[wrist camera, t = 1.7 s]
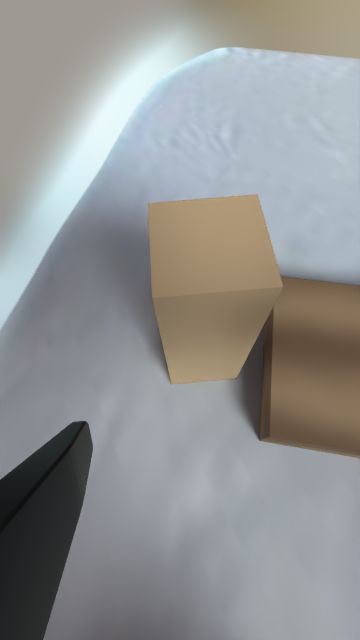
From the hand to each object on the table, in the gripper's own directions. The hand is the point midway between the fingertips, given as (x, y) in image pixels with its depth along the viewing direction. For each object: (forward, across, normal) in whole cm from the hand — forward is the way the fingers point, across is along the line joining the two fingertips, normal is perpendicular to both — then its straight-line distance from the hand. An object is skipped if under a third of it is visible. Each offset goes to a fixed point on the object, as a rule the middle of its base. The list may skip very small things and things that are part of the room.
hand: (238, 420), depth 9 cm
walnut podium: (+13, -11, +6) cm, 18 cm away
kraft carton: (+14, 0, +4) cm, 15 cm away
